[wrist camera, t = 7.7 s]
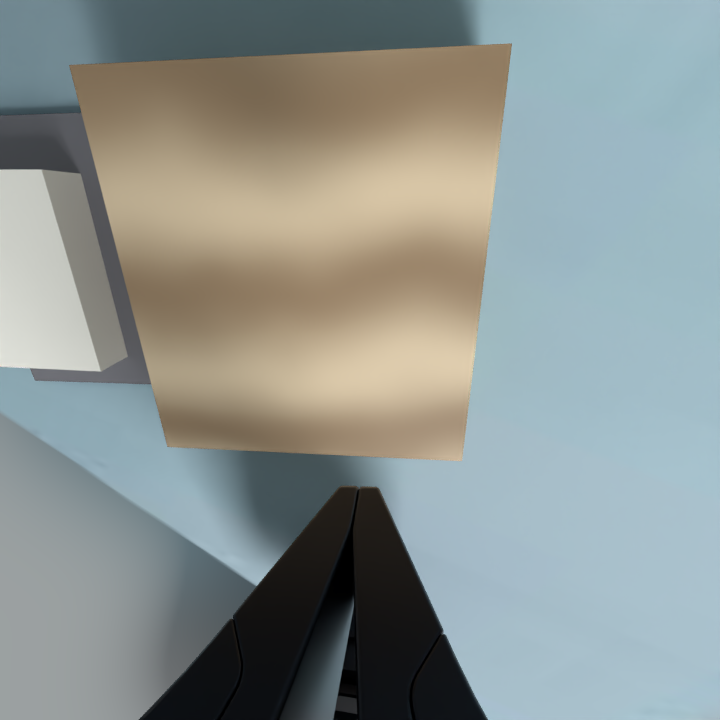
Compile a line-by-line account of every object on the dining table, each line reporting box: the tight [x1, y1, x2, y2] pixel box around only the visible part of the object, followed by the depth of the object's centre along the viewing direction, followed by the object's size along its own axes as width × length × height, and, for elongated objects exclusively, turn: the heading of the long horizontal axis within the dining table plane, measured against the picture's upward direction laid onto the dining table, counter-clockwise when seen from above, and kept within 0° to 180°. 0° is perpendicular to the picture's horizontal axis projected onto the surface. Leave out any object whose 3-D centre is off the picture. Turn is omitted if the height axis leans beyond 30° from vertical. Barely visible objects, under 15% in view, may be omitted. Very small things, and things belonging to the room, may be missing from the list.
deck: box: [69, 44, 512, 461], centre depth 16 cm, size 15×14×4 cm
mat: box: [0, 113, 151, 384], centre depth 18 cm, size 13×10×1 cm
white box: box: [0, 170, 128, 372], centre depth 18 cm, size 9×6×2 cm, turn 0°
